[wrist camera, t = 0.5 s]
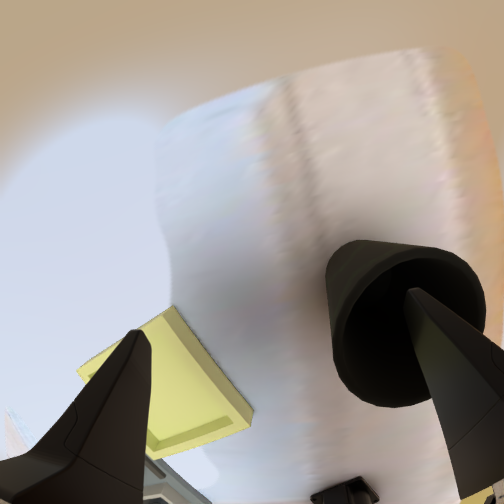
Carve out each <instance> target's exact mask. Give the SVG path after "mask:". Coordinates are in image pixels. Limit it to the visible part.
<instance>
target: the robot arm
mask: <svg viewBox="0 0 504 504" xmlns="http://www.w3.org/2000/svg"><path fill="white" fill-rule="evenodd" d="M403 311H404V315H405V319H406V322H407V325H408V329H409V332H410V336H411V340H412V343H413V347H414V350H415V353H416V356H417V358H418V361H419V364H420V366H421V369H422V372H423V374H424V377H425V380H426V383H427V385H428V388H429V391H430V394H431V397H432V400H433V403H434V406H435V409H436V412H437V415H438V418H439V421H440V424H441V428H442V431H443V434H444V438H445V441H446V445H447V448H448V450H449V451H448V452H449V456H450V459H451V463H452V467H453V471H454V475H455V479H456V483H457V488H458V492H459V496H460V499H461V500H462V499H464V498H467V497H469V496H471V495H473V494H475V493H477V492H479V491H481V490H483V489H485V488H487V487H489V486H491V485H492V488H493V492H494V494H492V495H490V496H488V497H487V499H486V501H485V503H484V504H504V350H503V349H501V348H500V347H499V346H498V345H496V344H495V343H494V342H491V340H490V339H488V338H487V337H486V336H485V335H483V334H482V333H481V332H479V331H478V330H477V329H475V328H474V327H473V326H471V325H470V324H469V323H467V322H466V321H465V320H463V319H462V318H461V317H459V316H458V315H457V314H455V313H454V312H453V311H451V310H450V309H448V308H447V307H446V306H444V305H443V304H442V303H440V302H439V301H437V300H436V299H435V298H433V297H432V296H430V295H429V294H428V293H426V292H425V291H423V290H422V289H420V288H412V289H409V290H408V291H407V293H406V297H405V301H404V306H403ZM151 384H152V347H151V344H150V342H149V340H148V338H147V337H146V335H145V333H144V332H143V330H141V329H135V330H130V331H129V332H128V333H127V334H126V336H125V337H124V338H123V339H122V341H121V342H120V343H119V344H118V345H117V347H116V348H115V349H114V350H113V352H112V353H111V354H110V355H109V356H108V358H107V359H106V360H105V361H104V363H103V364H102V365H101V366H100V368H99V369H98V370H97V371H96V373H95V374H94V375H93V376H92V378H91V379H90V380H89V382H88V383H87V384H86V385H85V387H84V388H83V389H82V391H81V392H80V393H79V394H78V396H77V397H76V398H75V400H74V401H73V402H72V403H71V404H70V406H69V407H68V408H67V410H66V411H65V412H64V413H63V415H62V416H61V417H60V418H59V419H58V421H57V422H56V423H55V424H54V425H53V426H52V427H51V428H50V430H49V431H48V432H47V433H46V434H45V435H44V436H43V437H42V438H41V439H40V440H39V442H38V443H37V444H36V445H35V446H34V447H33V448H32V449H31V450H29V451H28V452H27V453H25V454H23V455H20V456H17V457H13V458H9V459H6V460H2V461H0V504H143V489H144V469H145V453H146V440H147V428H148V417H149V407H150V398H151ZM310 500H311V501H312V502H313V503H314V504H374V503H377V502H378V501H379V497H378V496H377V494H376V493H375V492H374V491H373V490H372V489H371V487H370V486H369V485H368V484H367V483H366V482H365V480H364V479H363V478H362V477H358V478H355V479H353V480H351V481H348V482H346V483H344V484H341V485H339V486H336V487H334V488H331V489H329V490H326V491H323V492H321V493H318V494H315V495H312V496H311V497H310Z"/></svg>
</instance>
